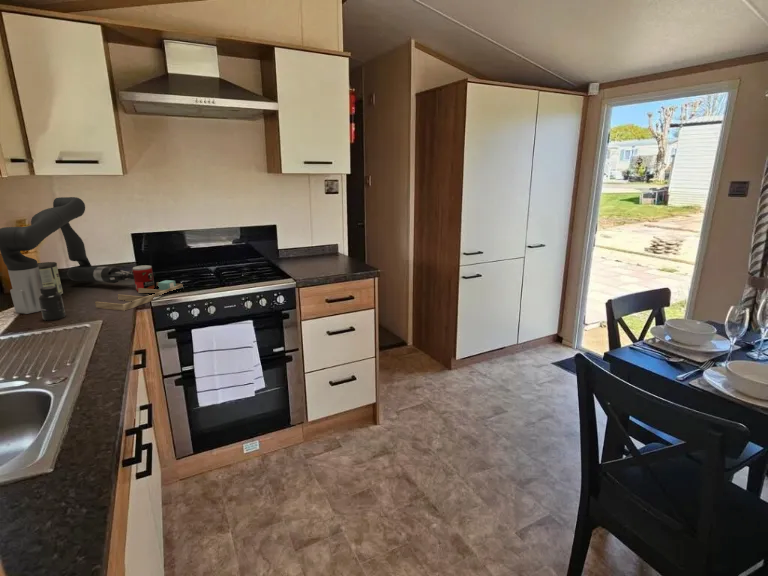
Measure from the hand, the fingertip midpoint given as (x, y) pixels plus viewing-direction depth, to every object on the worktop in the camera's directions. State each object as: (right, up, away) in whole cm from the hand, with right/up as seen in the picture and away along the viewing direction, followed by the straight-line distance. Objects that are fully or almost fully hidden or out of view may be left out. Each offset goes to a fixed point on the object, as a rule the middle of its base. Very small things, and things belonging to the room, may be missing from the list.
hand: (136, 276), depth 195 cm
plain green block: (+16, -7, -3) cm, 18 cm away
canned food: (+4, -7, +1) cm, 8 cm away
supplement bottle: (-9, -17, -37) cm, 41 cm away
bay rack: (+9, -10, -12) cm, 18 cm away
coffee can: (-36, -9, -6) cm, 37 cm away
